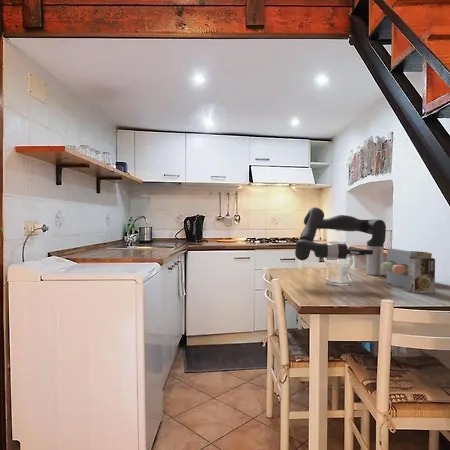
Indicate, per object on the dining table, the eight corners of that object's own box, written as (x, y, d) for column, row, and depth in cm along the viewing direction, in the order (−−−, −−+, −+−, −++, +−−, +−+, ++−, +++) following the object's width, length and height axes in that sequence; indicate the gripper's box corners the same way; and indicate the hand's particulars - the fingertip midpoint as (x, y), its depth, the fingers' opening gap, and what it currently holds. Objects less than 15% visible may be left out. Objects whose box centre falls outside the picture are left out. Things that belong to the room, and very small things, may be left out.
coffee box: (428, 290, 166) (429, 256, 165) (435, 293, 159) (436, 258, 159) (408, 290, 167) (409, 256, 166) (414, 293, 160) (415, 257, 160)
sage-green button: (380, 270, 183) (380, 261, 183) (393, 270, 184) (393, 261, 184) (385, 271, 179) (385, 263, 179) (398, 271, 179) (398, 263, 179)
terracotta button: (391, 273, 173) (391, 264, 173) (405, 273, 174) (405, 264, 174) (396, 274, 169) (397, 265, 169) (410, 274, 170) (410, 265, 169)
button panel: (386, 282, 187) (387, 248, 186) (391, 282, 187) (392, 248, 186) (409, 290, 167) (410, 252, 166) (415, 289, 167) (416, 252, 167)
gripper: (333, 257, 181) (368, 258, 179) (338, 260, 168) (376, 261, 166) (333, 242, 181) (368, 243, 179) (339, 244, 167) (376, 245, 165)
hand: (372, 252), depth 172 cm, fingers closed
